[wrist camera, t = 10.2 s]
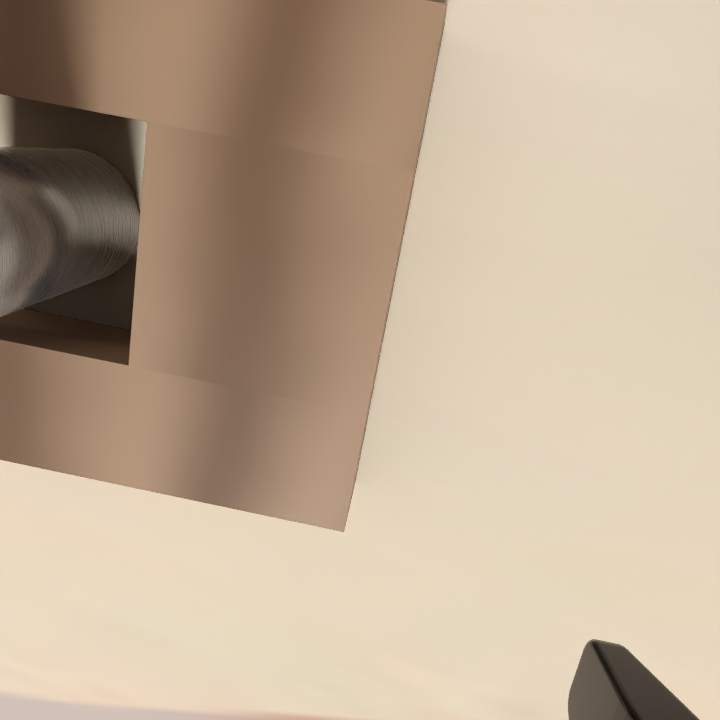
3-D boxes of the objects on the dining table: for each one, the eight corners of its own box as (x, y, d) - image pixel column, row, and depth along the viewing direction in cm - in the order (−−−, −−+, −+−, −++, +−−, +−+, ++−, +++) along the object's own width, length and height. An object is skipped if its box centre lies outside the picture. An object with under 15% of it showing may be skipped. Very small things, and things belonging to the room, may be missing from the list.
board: (444, 27, 18) (446, 3, 16) (354, 483, 23) (343, 532, 20) (-255, -98, 19) (-374, -142, 16) (-215, 366, 23) (-304, 395, 21)
